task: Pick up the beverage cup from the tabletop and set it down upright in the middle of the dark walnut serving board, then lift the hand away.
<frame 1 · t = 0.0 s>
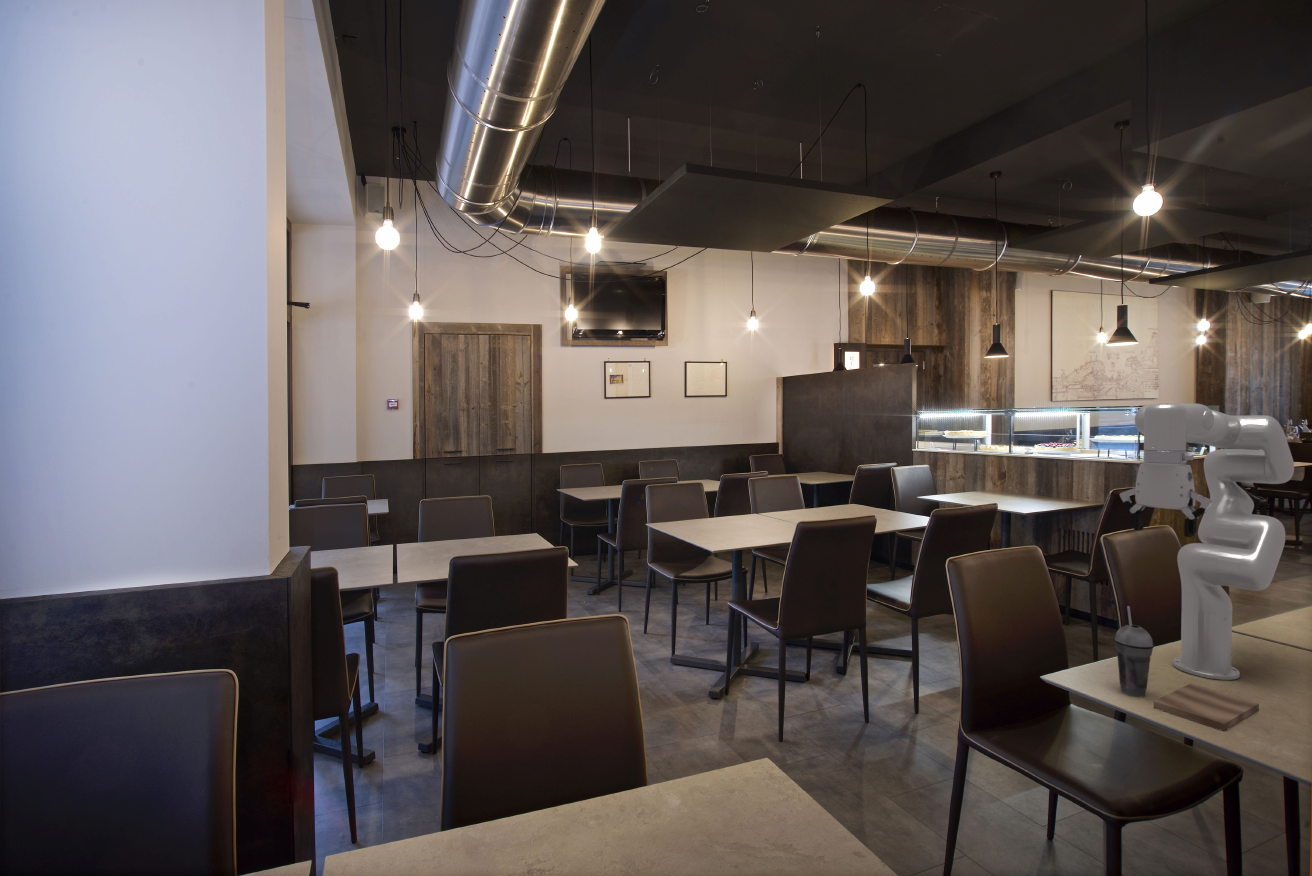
hand: (1163, 533, 145), 37 cm above the table, tool pointing down, fingers open, 9 cm apart
beverage cup: (1133, 693, 145), on the table
serving board: (1206, 709, 137), on the table
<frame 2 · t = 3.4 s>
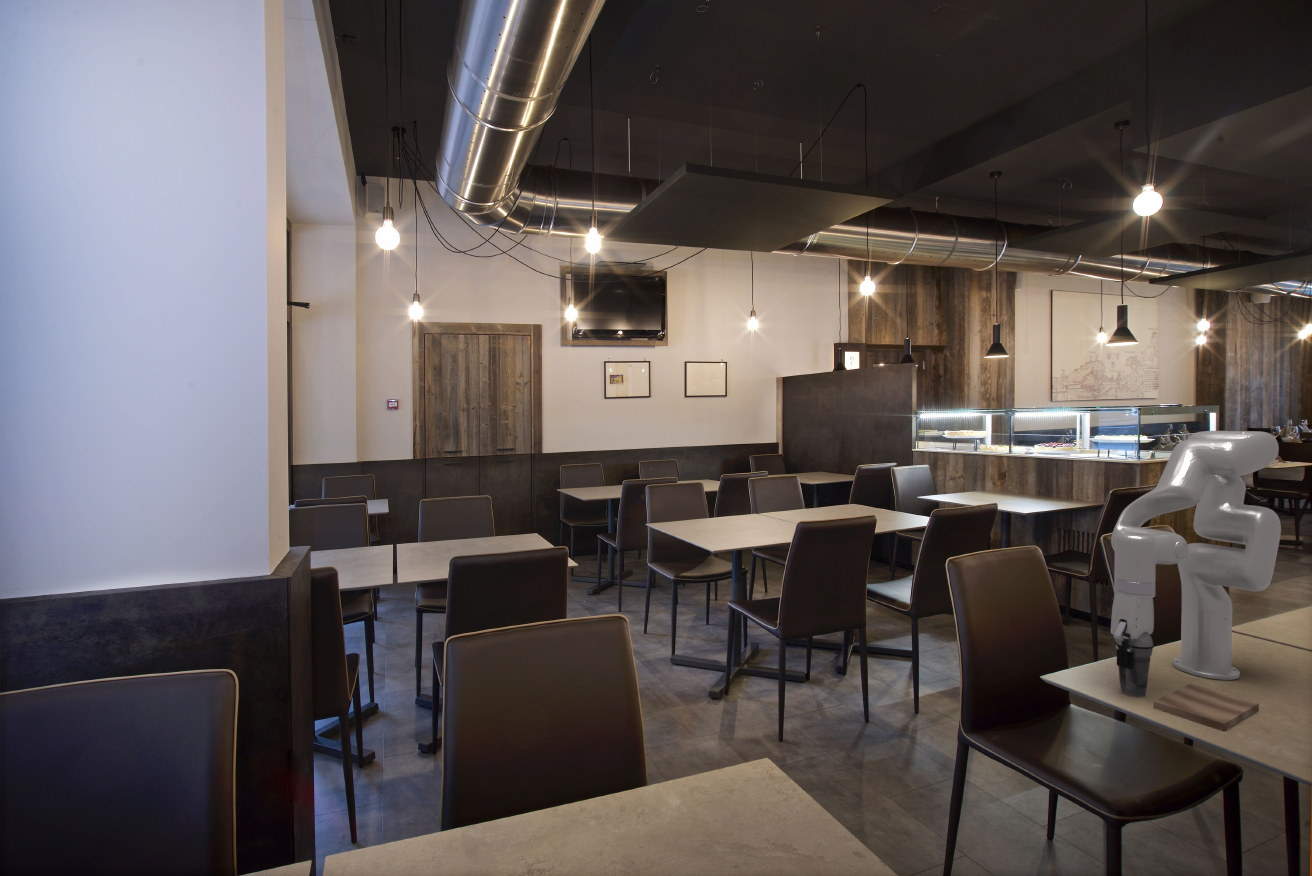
hand: (1133, 663, 145), 7 cm above the table, tool pointing down, fingers closed on beverage cup, 6 cm apart
beverage cup: (1133, 693, 145), on the table, touching gripper
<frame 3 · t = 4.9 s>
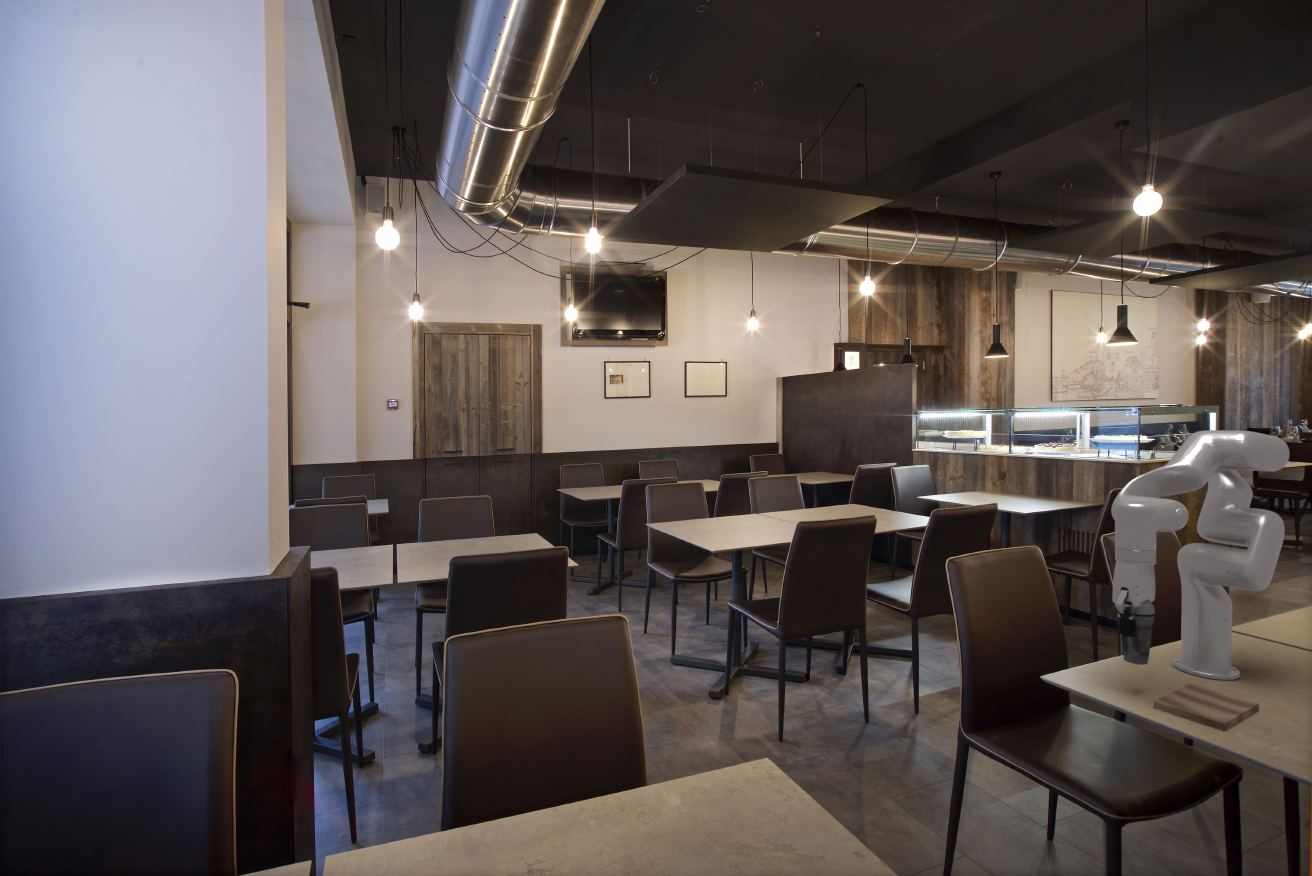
hand: (1135, 631, 145), 14 cm above the table, tool pointing down, fingers closed on beverage cup, 6 cm apart
beverage cup: (1135, 661, 145), point 7 cm above the table, touching gripper
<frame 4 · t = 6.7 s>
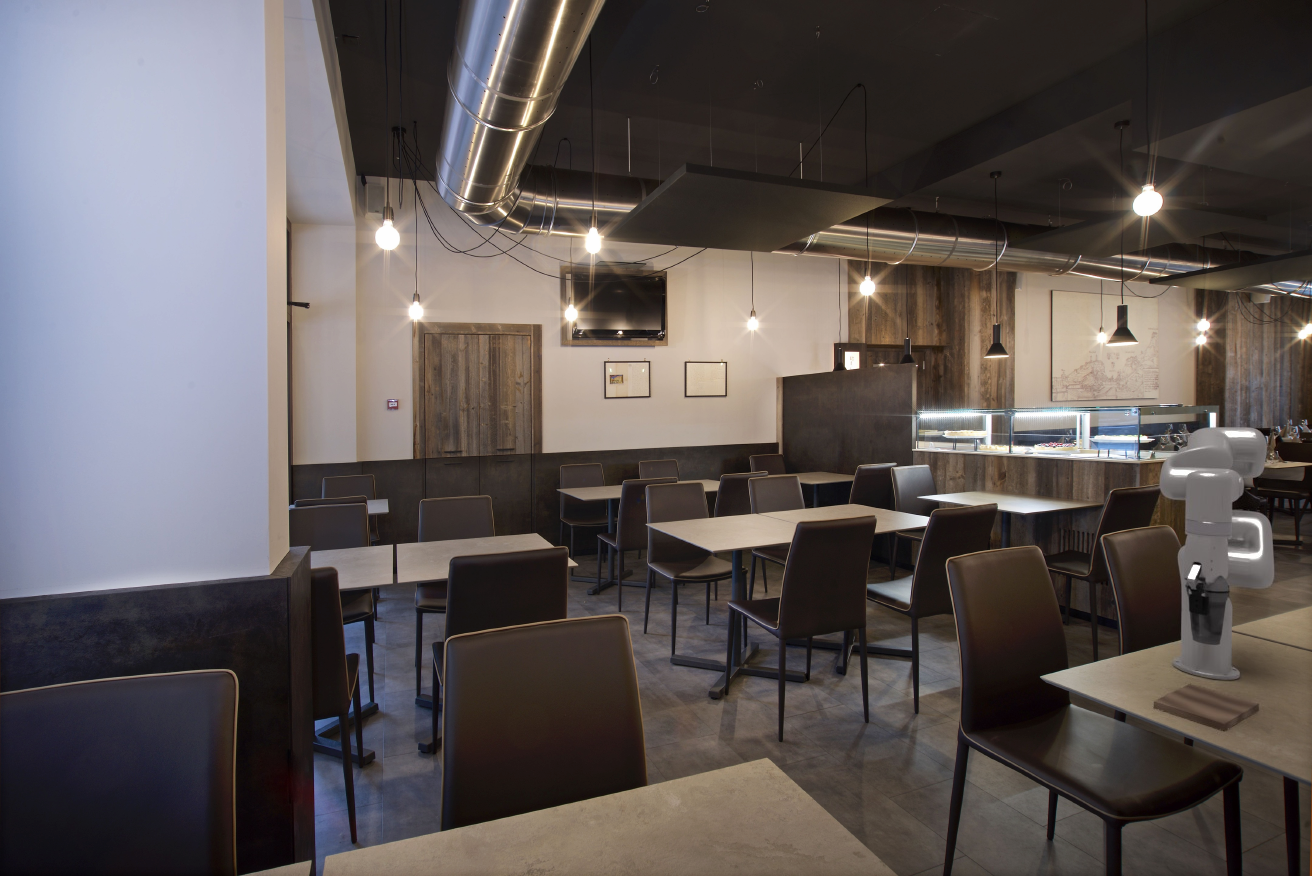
hand: (1206, 610, 136), 22 cm above the table, tool pointing down, fingers closed on beverage cup, 6 cm apart
beverage cup: (1206, 642, 137), point 15 cm above the table, touching gripper
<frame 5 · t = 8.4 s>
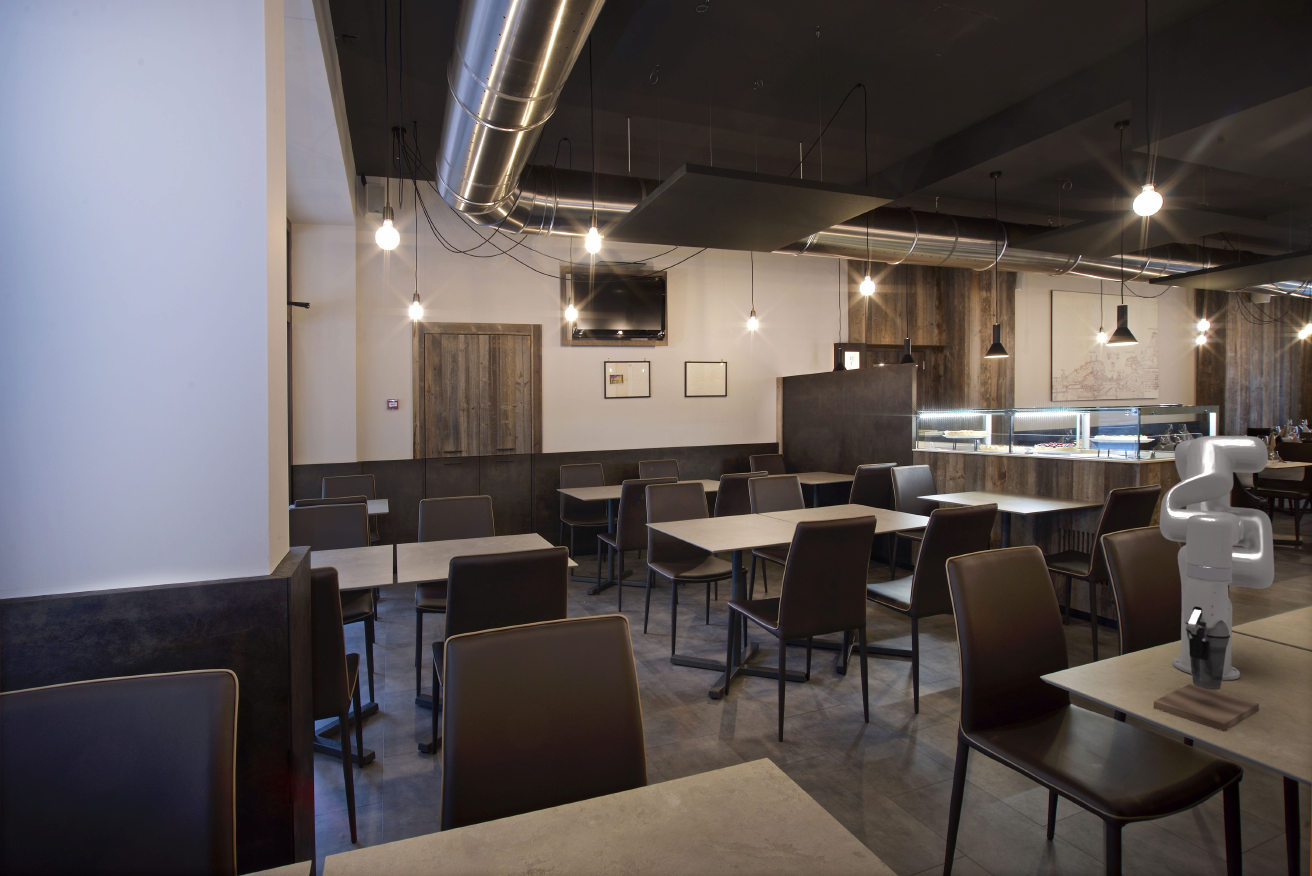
hand: (1206, 654, 136), 12 cm above the table, tool pointing down, fingers closed on beverage cup, 6 cm apart
beverage cup: (1206, 686, 137), point 5 cm above the table, touching gripper
when the fingers open (9 cm above the table, at t = 10.0 s): beverage cup stays where it is, resting on serving board.
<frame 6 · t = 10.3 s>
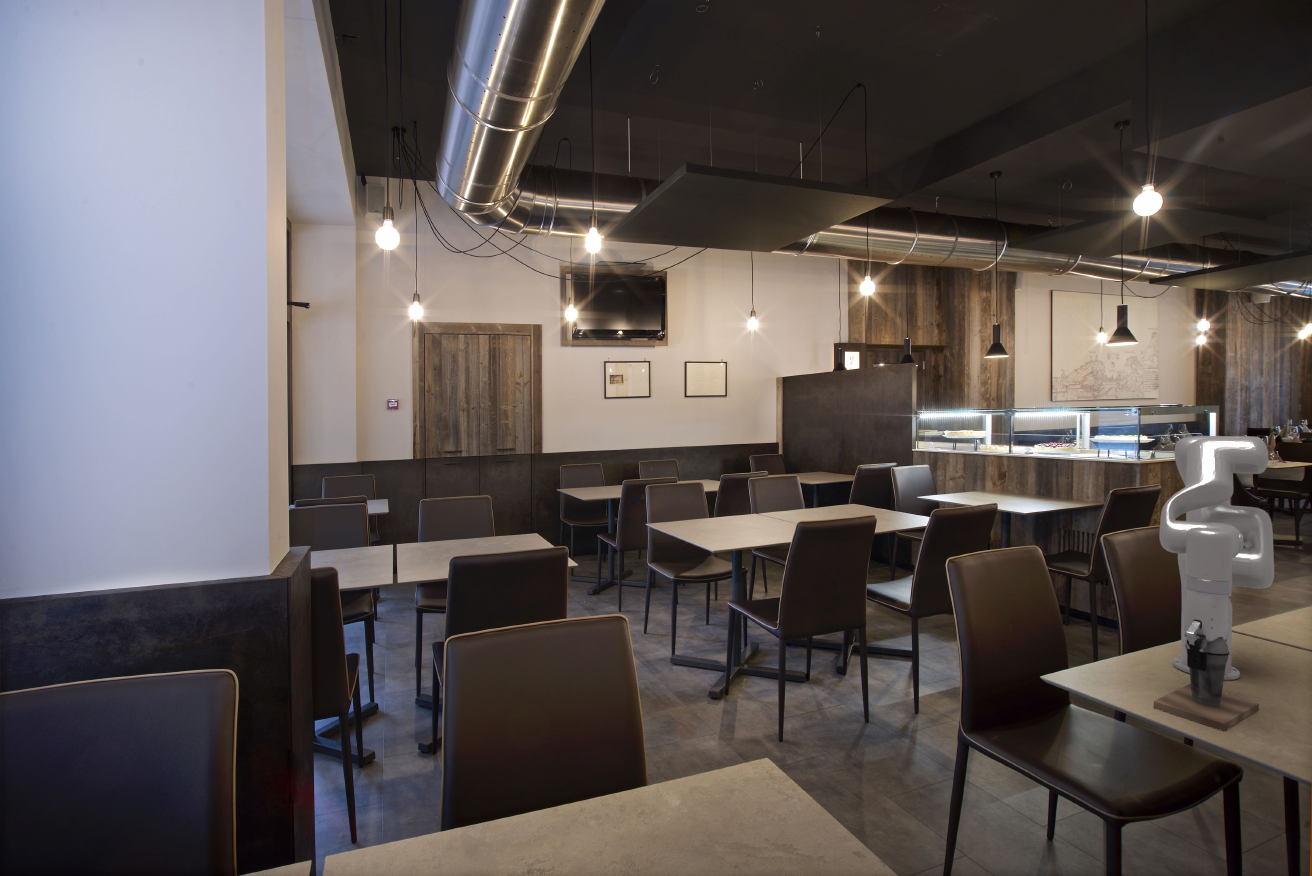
hand: (1206, 664, 137), 10 cm above the table, tool pointing down, fingers open, 9 cm apart
beverage cup: (1206, 703, 137), point 1 cm above the table, touching serving board
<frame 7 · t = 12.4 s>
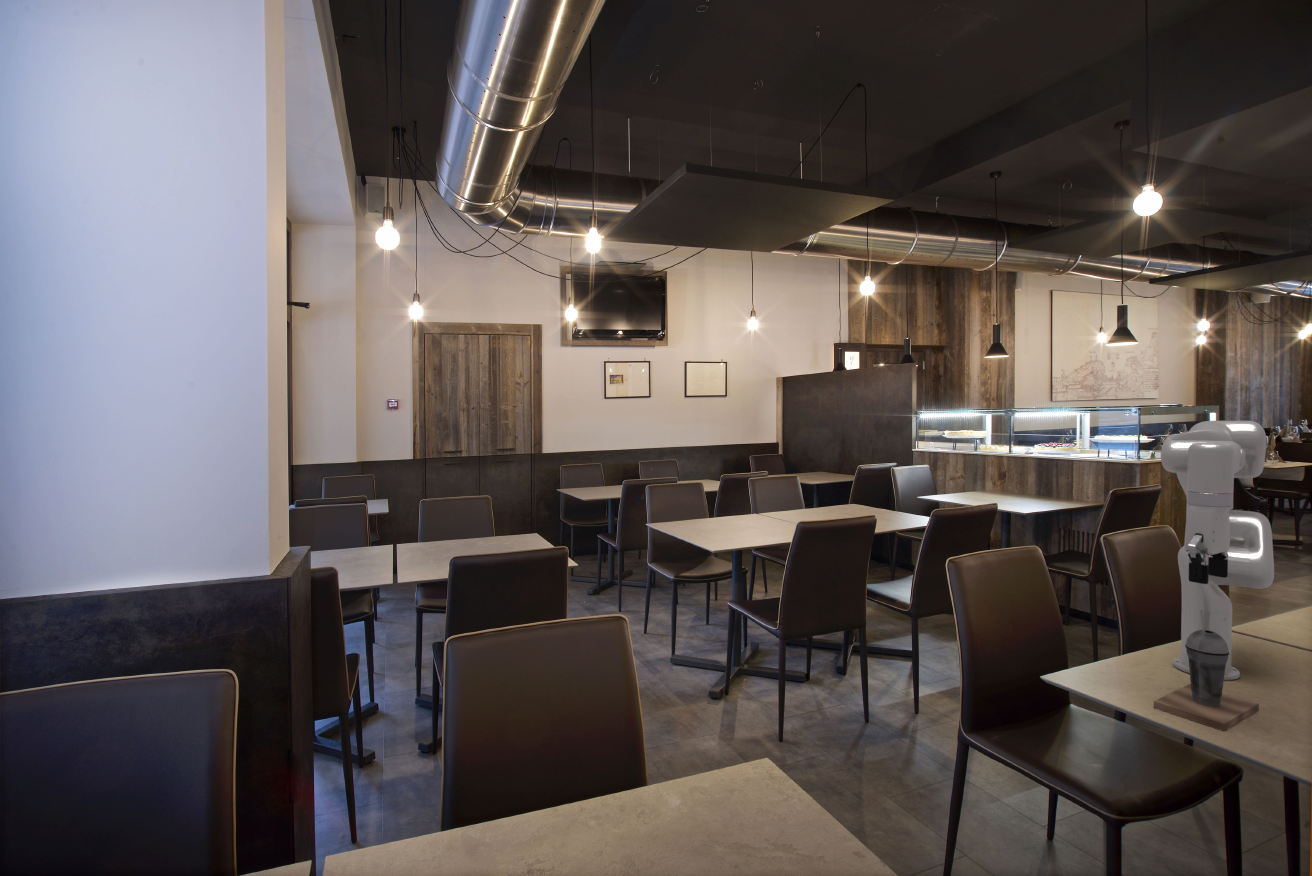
hand: (1208, 579, 136), 28 cm above the table, tool pointing down, fingers open, 9 cm apart
nothing on the table moved.
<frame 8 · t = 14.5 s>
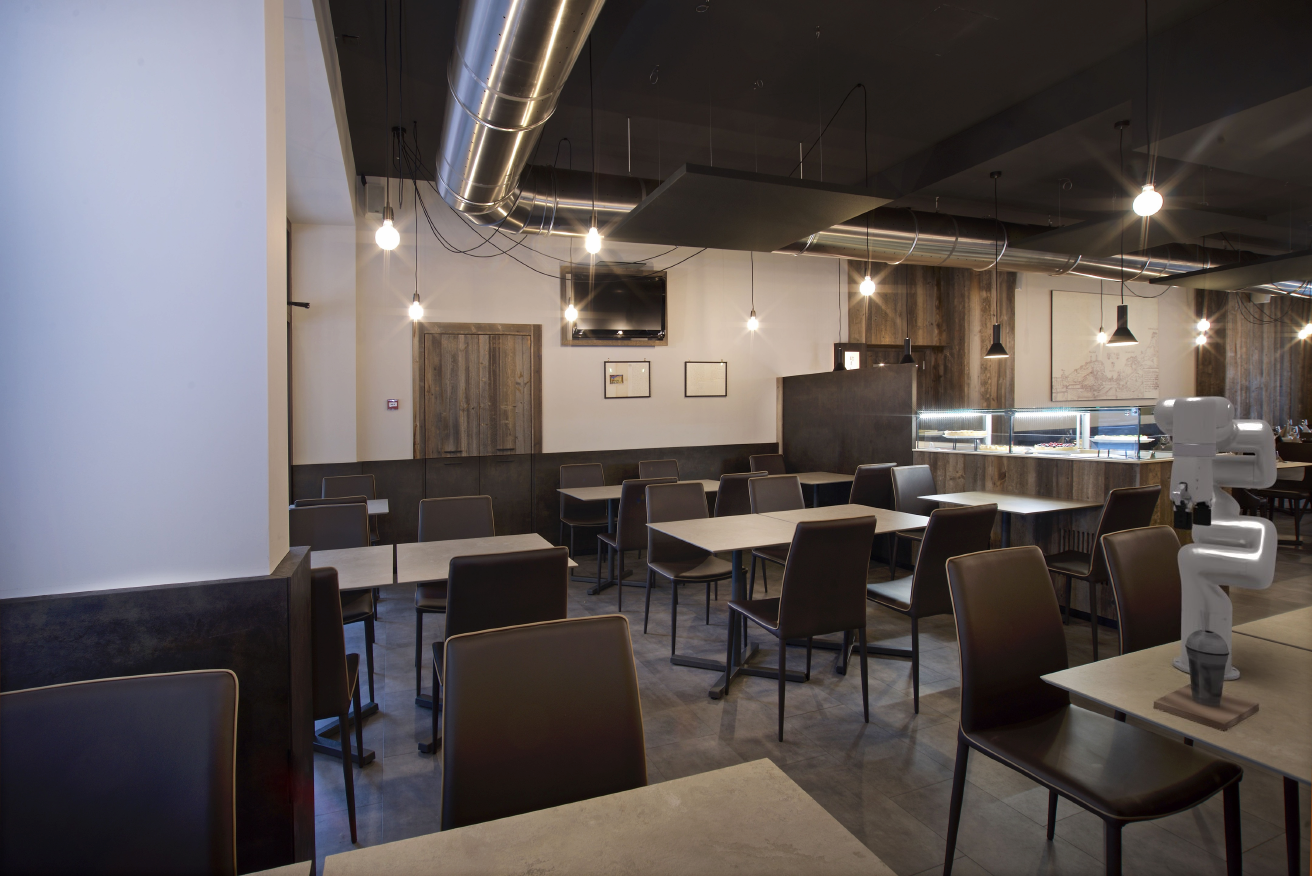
hand: (1192, 527, 143), 38 cm above the table, tool pointing down, fingers open, 9 cm apart
nothing on the table moved.
at the end: beverage cup inside the target area on the serving board (0.1 cm from its centre), point 1.3 cm above the serving board's base; beverage cup tilted 0°; the gripper is holding nothing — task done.
